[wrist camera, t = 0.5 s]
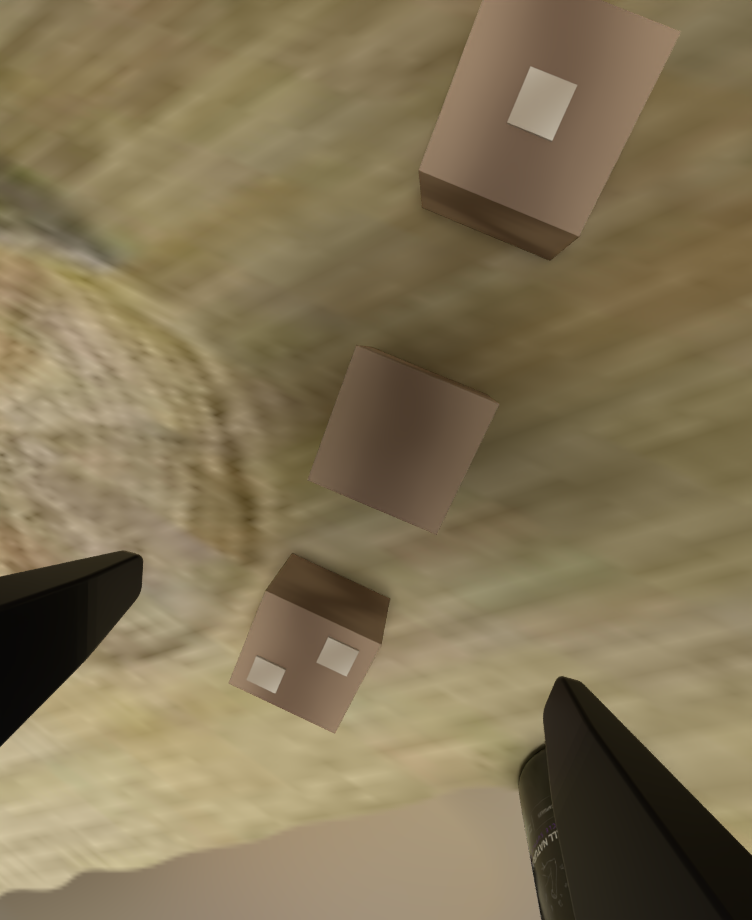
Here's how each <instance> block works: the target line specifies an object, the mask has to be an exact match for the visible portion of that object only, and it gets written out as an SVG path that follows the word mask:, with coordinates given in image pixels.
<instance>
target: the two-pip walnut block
mask: <svg viewBox="0 0 752 920" xmlns="http://www.w3.org/2000/svg"><path fill="white" fill-rule="evenodd" d="M389 601H390V598H388V597H385V596H383V595H381V594H379V593H377V592H375V591H372V590H370V589H368V588H366V587H364V586H362V585H359V584H357V583H355V582H353V581H351V580H349V579H346V578H344V577H342V576H340V575H338V574H336V573H333V572H331V571H329V570H327V569H325V568H323V567H320V566H318V565H316V564H314V563H312V562H310V561H307V560H305V559H303V558H301V557H299V556H297V555H294V554H291V556H290V557H289V559H288V560H287V561H286V563H285V564H284V566H283V567H282V568H281V570H280V571H279V573H278V574H277V575H276V577H275V578H274V579H273V581H272V582H271V584H270V585H269V586H268V588H267V589H266V591H265V593H264V596H263V598H262V601H261V603H260V606H259V608H258V611H257V613H256V616H255V618H254V621H253V623H252V626H251V628H250V631H249V633H248V636H247V638H246V641H245V643H244V646H243V648H242V651H241V653H240V656H239V658H238V661H237V663H236V666H235V668H234V671H233V673H232V676H231V678H230V681H229V684H231V685H233V686H235V687H237V688H240V689H242V690H244V691H246V692H248V693H250V694H252V695H254V696H256V697H259V698H261V699H263V700H265V701H267V702H269V703H271V704H273V705H275V706H278V707H280V708H282V709H284V710H286V711H288V712H290V713H292V714H294V715H297V716H299V717H301V718H303V719H305V720H307V721H309V722H311V723H313V724H316V725H318V726H320V727H322V728H324V729H326V730H328V731H330V732H332V733H336V731H337V729H338V727H339V725H340V723H341V721H342V719H343V717H344V715H345V713H346V712H347V710H348V708H349V706H350V704H351V702H352V700H353V698H354V696H355V694H356V692H357V690H358V689H359V687H360V685H361V683H362V681H363V679H364V677H365V675H366V673H367V671H368V669H369V668H370V666H371V664H372V662H373V660H374V658H375V656H376V654H377V652H378V650H379V648H380V646H381V644H382V639H383V634H384V628H385V623H386V618H387V612H388V607H389Z"/></svg>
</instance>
